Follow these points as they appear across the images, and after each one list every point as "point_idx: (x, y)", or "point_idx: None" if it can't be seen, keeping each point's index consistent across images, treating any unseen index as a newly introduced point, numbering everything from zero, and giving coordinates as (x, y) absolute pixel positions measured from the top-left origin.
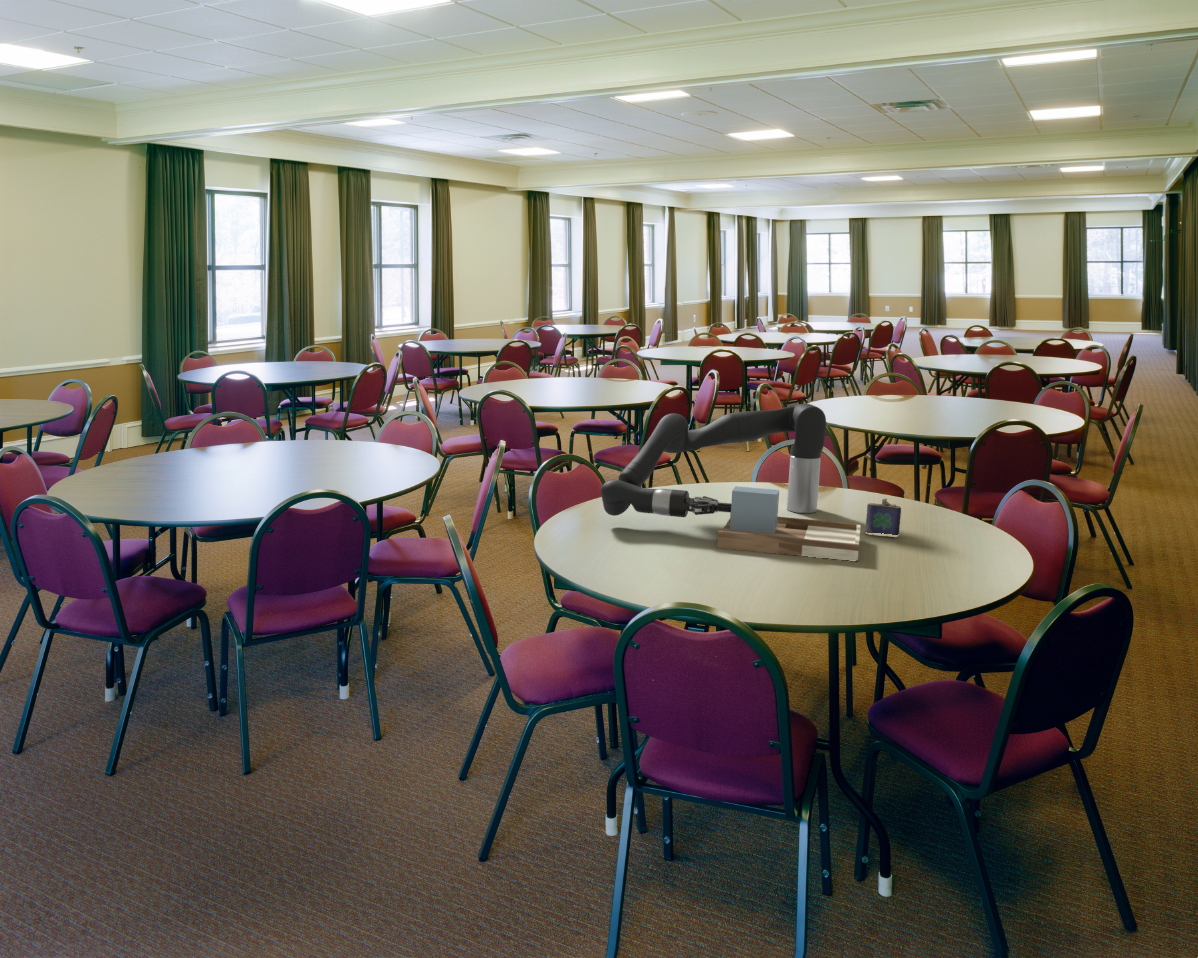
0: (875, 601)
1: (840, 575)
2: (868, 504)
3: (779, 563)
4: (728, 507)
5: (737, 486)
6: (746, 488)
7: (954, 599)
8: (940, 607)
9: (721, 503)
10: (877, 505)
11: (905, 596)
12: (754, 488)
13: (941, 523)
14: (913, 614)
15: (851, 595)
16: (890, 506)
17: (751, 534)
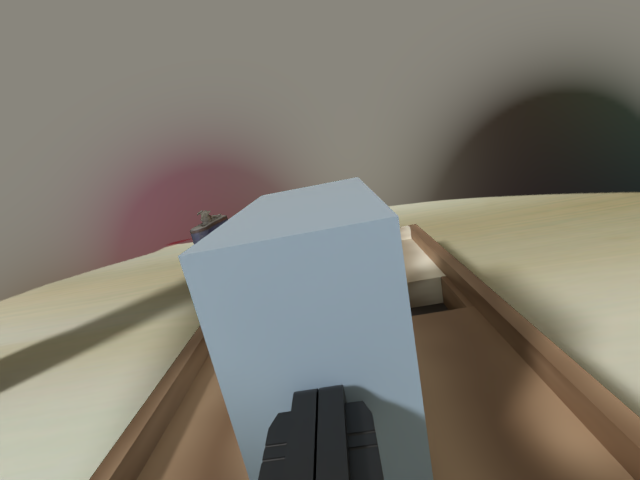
0: (620, 210)
1: (534, 248)
2: (199, 229)
3: (591, 315)
4: (369, 415)
5: (188, 249)
6: (258, 220)
7: (502, 202)
8: (549, 198)
9: (325, 475)
10: (209, 224)
11: (547, 210)
12: (249, 213)
13: (151, 263)
14: (616, 195)
15: (636, 221)
16: (218, 218)
17: (548, 341)
